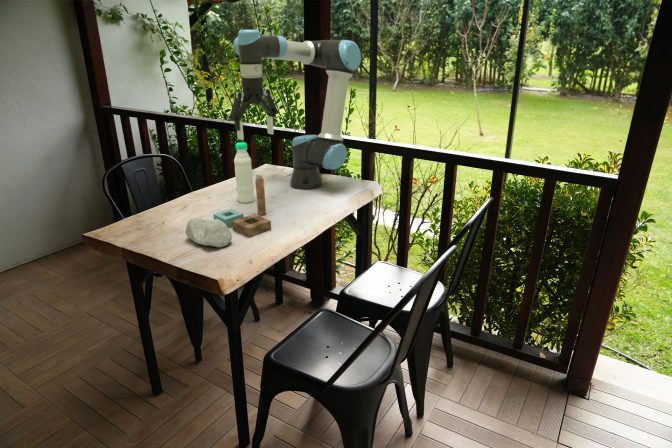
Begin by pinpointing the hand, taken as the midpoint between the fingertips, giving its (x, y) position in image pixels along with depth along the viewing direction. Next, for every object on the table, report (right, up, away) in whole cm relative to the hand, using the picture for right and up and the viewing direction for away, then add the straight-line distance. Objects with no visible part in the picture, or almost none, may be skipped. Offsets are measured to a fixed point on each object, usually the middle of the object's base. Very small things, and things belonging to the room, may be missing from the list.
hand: (256, 136), depth 174 cm
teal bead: (-11, -32, +4) cm, 34 cm away
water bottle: (-9, -23, +27) cm, 36 cm away
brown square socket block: (-1, -35, -2) cm, 35 cm away
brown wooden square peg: (0, -29, +12) cm, 31 cm away
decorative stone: (-15, -39, -12) cm, 43 cm away
